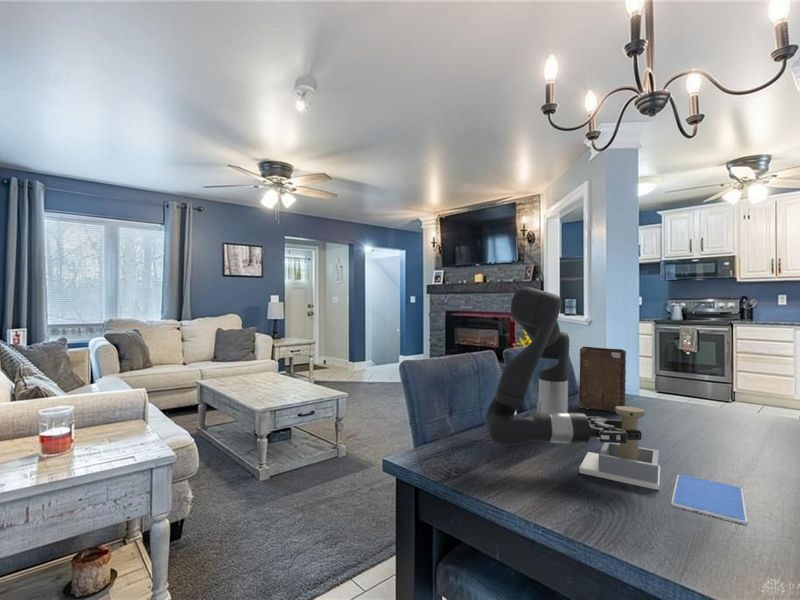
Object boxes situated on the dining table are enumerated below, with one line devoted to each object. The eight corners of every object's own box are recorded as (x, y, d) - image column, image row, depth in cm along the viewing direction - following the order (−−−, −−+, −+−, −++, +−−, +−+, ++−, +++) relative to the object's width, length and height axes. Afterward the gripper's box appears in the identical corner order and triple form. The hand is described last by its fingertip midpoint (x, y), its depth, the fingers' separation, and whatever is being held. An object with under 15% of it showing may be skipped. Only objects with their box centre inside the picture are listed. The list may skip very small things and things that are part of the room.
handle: (645, 474, 100) (646, 412, 100) (615, 470, 102) (616, 409, 102) (641, 466, 104) (642, 407, 104) (613, 462, 106) (614, 405, 106)
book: (626, 411, 163) (627, 349, 163) (624, 415, 157) (624, 350, 157) (581, 405, 173) (582, 346, 173) (577, 408, 167) (578, 347, 167)
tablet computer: (748, 529, 79) (748, 522, 79) (670, 508, 87) (670, 502, 87) (742, 492, 94) (742, 487, 94) (677, 478, 102) (677, 472, 102)
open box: (579, 472, 103) (579, 451, 103) (588, 456, 114) (588, 437, 114) (659, 490, 94) (659, 467, 94) (660, 470, 105) (660, 450, 105)
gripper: (576, 421, 97) (647, 422, 96) (556, 406, 111) (618, 407, 110) (576, 452, 97) (647, 454, 96) (556, 433, 111) (618, 435, 110)
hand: (631, 429), depth 103 cm, fingers open, 8 cm apart
